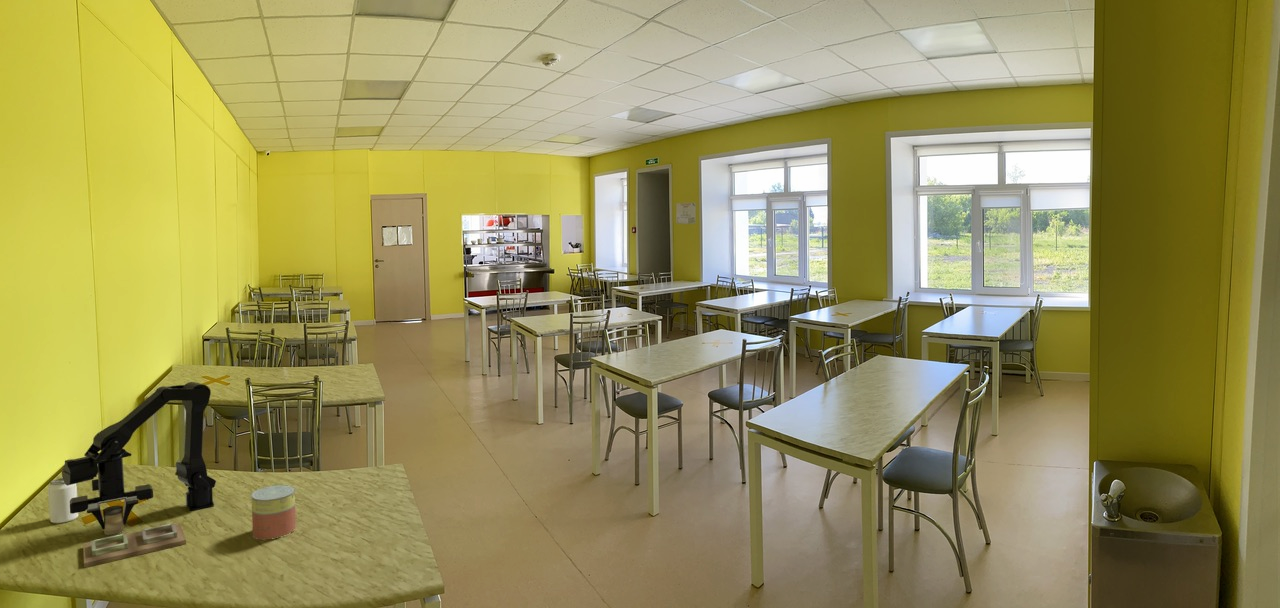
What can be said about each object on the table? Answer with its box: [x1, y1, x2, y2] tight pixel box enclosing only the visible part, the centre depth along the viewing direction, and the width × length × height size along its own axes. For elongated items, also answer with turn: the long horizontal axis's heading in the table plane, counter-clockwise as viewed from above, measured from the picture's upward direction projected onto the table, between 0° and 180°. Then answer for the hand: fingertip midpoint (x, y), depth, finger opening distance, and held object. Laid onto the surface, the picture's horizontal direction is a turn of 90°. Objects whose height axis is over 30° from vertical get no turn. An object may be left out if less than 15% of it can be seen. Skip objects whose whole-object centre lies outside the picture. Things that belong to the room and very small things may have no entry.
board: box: [82, 522, 187, 568], centre depth 186 cm, size 22×14×3 cm, turn 130°
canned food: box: [250, 484, 297, 540], centre depth 196 cm, size 11×11×12 cm
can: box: [47, 477, 79, 524], centre depth 200 cm, size 6×6×12 cm
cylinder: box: [102, 505, 125, 536], centre depth 193 cm, size 4×4×7 cm
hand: (114, 526), depth 194 cm, fingers closed on cylinder, 4 cm apart
